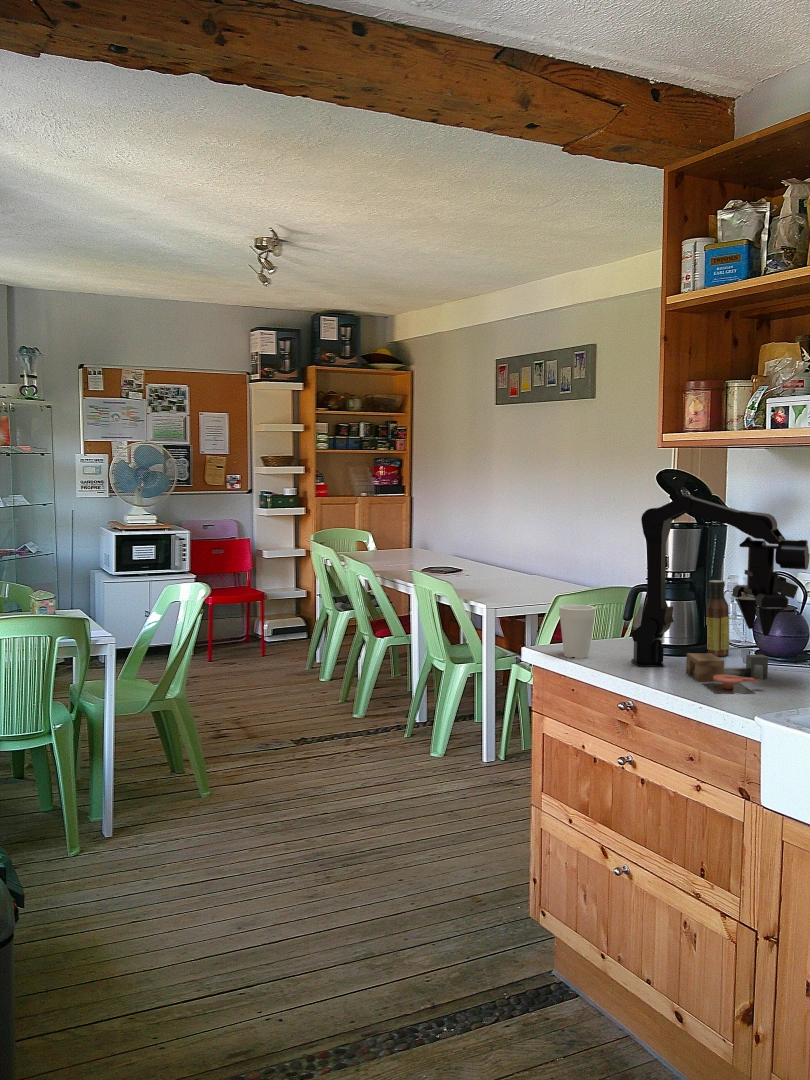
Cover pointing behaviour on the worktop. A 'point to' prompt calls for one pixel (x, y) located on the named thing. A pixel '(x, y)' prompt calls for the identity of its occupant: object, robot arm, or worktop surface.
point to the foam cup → (576, 629)
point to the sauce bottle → (717, 619)
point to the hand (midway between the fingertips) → (758, 632)
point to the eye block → (704, 666)
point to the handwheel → (739, 678)
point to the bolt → (748, 667)
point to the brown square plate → (718, 689)
